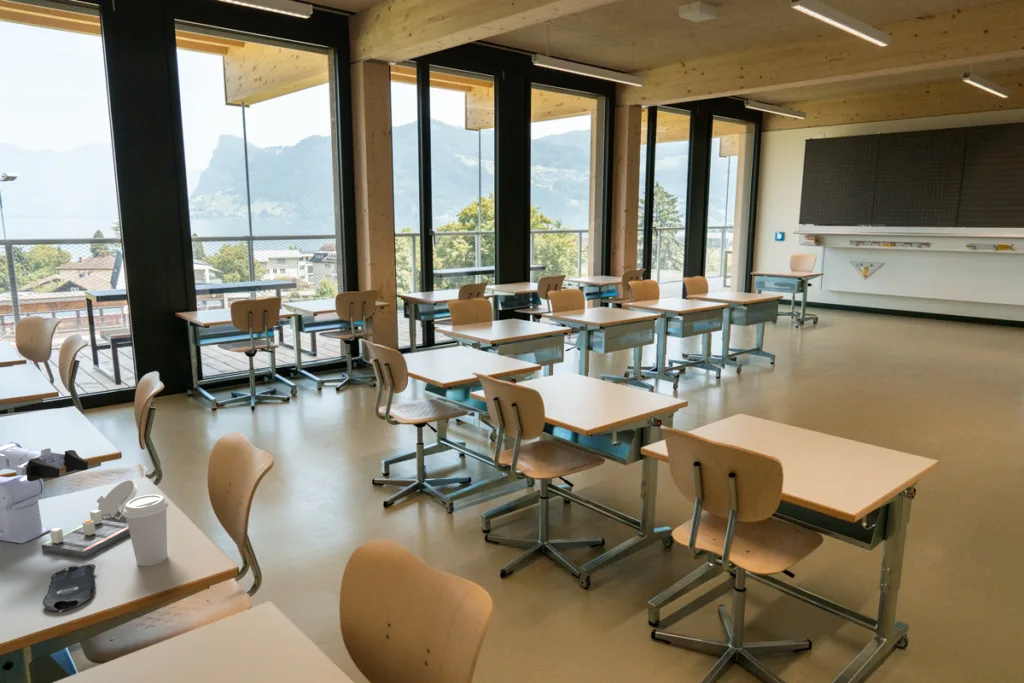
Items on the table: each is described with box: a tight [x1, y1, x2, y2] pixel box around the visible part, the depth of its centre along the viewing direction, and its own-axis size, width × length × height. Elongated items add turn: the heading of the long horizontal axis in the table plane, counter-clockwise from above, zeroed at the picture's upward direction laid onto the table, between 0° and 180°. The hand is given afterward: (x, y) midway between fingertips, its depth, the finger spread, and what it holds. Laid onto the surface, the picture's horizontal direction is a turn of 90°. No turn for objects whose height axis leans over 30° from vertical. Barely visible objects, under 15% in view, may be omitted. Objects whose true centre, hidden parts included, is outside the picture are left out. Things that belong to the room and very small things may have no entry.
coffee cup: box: [122, 493, 169, 567], centre depth 160 cm, size 10×10×15 cm
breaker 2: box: [89, 509, 103, 524], centre depth 177 cm, size 2×2×3 cm
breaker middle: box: [81, 519, 95, 535], centre depth 171 cm, size 2×2×4 cm
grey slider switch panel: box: [40, 519, 131, 560], centre depth 171 cm, size 14×15×2 cm
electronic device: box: [42, 563, 97, 613], centre depth 147 cm, size 9×6×15 cm
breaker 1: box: [49, 527, 64, 543], centre depth 167 cm, size 2×2×3 cm
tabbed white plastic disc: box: [96, 480, 139, 521], centre depth 189 cm, size 15×8×11 cm, turn 47°
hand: (72, 469), depth 166 cm, fingers open, 7 cm apart
